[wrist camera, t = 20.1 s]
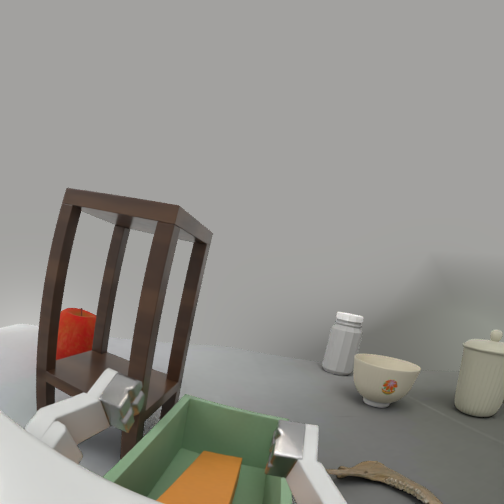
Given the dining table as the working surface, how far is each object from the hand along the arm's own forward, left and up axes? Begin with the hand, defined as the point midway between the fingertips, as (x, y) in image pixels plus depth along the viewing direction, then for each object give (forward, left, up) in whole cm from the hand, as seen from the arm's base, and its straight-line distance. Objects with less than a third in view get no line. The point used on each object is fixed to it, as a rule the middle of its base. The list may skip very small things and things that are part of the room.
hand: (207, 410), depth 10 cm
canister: (+50, -57, -17) cm, 77 cm away
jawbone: (+15, -20, -17) cm, 30 cm away
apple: (+32, +29, -17) cm, 46 cm away
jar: (+80, -24, -17) cm, 85 cm away
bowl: (+54, -29, -17) cm, 63 cm away
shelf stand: (+17, +13, -16) cm, 27 cm away
